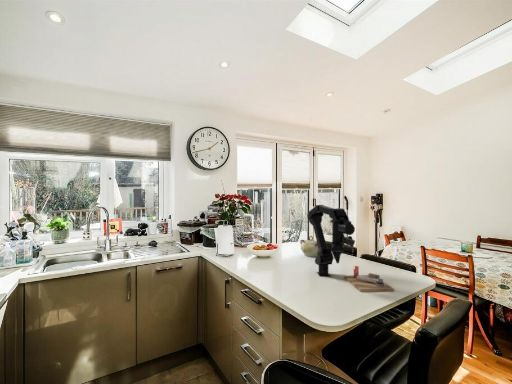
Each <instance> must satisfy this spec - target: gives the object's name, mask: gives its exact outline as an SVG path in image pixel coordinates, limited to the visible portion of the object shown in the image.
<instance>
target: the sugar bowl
mask: <svg viewBox="0 0 512 384" xmlns="http://www.w3.org/2000/svg"><path fill="white" fill-rule="evenodd" d="M299 243H300V250H301V252H302V253H303V255H304V256H305V257H317V252H318V249H319V248H318V244H317V240H314V237H313V236H312V235H310V236H309V237H308V239H307V240H305V239H301V240H300V241H299Z"/></svg>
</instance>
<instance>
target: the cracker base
mask: <svg viewBox="0 0 512 384" xmlns="http://www.w3.org/2000/svg"><path fill="white" fill-rule="evenodd" d="M369 274H374V275H375V277H376V278H380V274H377V273H376V274H375V273H371V272H370V273H368V274H367V275H366V274H365V275H364V274H363V275H361V276H365V277H367V276H369ZM343 278H344V280H346V281H347V282H348V283H350V284H351V285H352V286H353V287H354V288H355V289H356V290H357V291H359V292H361V293H362V292H363V293H364V292H365V293H366V292H367V293H370V292H373V293H374V292H394V291H395V289H394V287H392V286H390V285H389V284H387V283H386V282H385V281H383V284H377V283H374V282H370V281H366V280H361V279H357V278H354V274H351V275H343ZM376 278H375V279H376Z"/></svg>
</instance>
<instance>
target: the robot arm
mask: <svg viewBox="0 0 512 384" xmlns="http://www.w3.org/2000/svg"><path fill="white" fill-rule="evenodd" d="M324 215H328V217H329V218H330V219H331V220H330V223H332V232H331V236H332V237H331V238H332V239H331V244H332V245H331V247H330V248H329V247H328V246H327V242H326V238H325V235H324V232H323V231H324V230H323V227H322V221H323V217H324ZM306 217H307V219H308V222H309V223H310V225H311V226H312V228H313V231H314V234H315V239H316V240H315V241H316V242H317V244H318V248H319V249H318V252H317V255H316V258H315V259H314V263H315V265H317V266H318V271H316V274H317V275H318V276H319V277H330V276H331V274H330V273H329V265H333V261H334V259H335V262H336V264H340V259H341V255H342V254H343V253H344V252H345V246H344V245H347V246H349V247H350V248H353V247H354V245H355V243H356V240H355V239H353V236H352V235H353V234H354V232H355V229H356V228H355V226H354V224H353V223H352V221H351V220H350V218H349V216H348V215H347V212H346V211H345V208H334V207H330V206H326V205H324V204H316V205H315V206H314V207H313V208H311V209H310V210H309V211H308V213H307V215H306ZM345 235H348V236H345Z"/></svg>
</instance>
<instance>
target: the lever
mask: <svg viewBox="0 0 512 384" xmlns="http://www.w3.org/2000/svg"><path fill="white" fill-rule="evenodd" d="M359 268H360V266H358V265H354V266H353V275H354V278H357V279H361V280H366V281H370V282H374V283H377V284H383V282H384V279H383V278H380V277H379V278H376V279H374V278H373V277H369V276H367V277H365V276H361V275H360V274H359V273H360V272H359V271H360V270H359Z"/></svg>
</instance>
